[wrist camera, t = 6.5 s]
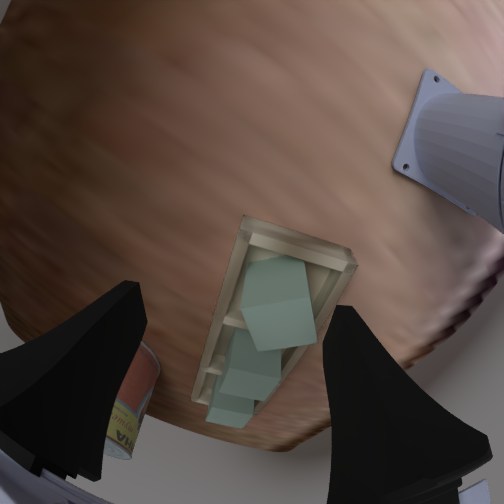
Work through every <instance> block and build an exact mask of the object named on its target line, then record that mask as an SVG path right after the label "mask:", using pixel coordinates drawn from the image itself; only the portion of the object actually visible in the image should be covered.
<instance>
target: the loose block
mask: <svg viewBox="0 0 504 504" xmlns="http://www.w3.org/2000/svg"><path fill="white" fill-rule="evenodd" d="M240 309H241V312H242V314H243V317H244V319H245V322H246V324H247V327H248V329H249V332H250V334H251V337H252V339H253V342H254V344H255V346H256V349H257V351H258V352H259V351H267V350H275V349H282V348H289V347H295V346H302V345H308V344H314V343H318V342H317V335H316V328H315V321H314V314H313V308H312V301H311V295H310V289H309V284H308V279H307V273H306V268H305V263H304V260H302V259H299V258H295V257H292V256H289V255H284V256H279V257H274V258H269V259H264V260H259V261H253V262H248V264H247V270H246V276H245V282H244V288H243V295H242V301H241V307H240Z"/></svg>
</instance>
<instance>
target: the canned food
mask: <svg viewBox="0 0 504 504" xmlns="http://www.w3.org/2000/svg"><path fill="white" fill-rule="evenodd" d="M160 370H161V368H160V363H159V361H158V359H157V357H156V356H155V354H154V353H153V352H152V350H151V349H150V348H149V347H148V346H147V345H146V344H145V343H144V342H142V341H141V344H140V346H139V348H138V350H137V352H136V354H135V357H134V359H133V361H132V363H131V365H130V367H129V369H128V372H127V374H126V376H125V378H124V380H123V382H122V385H121V387H120V389H119V392H118V394H117V397H116V400H115V403H114V407H113V410H112V414H111V418H110V422H109V426H108V430H107V435H106V440H105V446H104V452H103V454H106V455H109V456H112V457H115V458H119V459H124V460H130V459H131V458H132V452H133V449H134V445H135V442H136V439H137V436H138V433H139V430H140V427H141V424H142V421H143V418H144V415H145V412H146V409H147V406H148V403H149V400H150V397H151V394H152V391H153V389H154V386H155V383H156V380H157V377H158V376H159V374H160Z"/></svg>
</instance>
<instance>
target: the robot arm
mask: <svg viewBox="0 0 504 504" xmlns="http://www.w3.org/2000/svg"><path fill="white" fill-rule="evenodd" d="M434 76H435V77H436V79H437V82H435V81H434ZM404 164H407V168H406V169H405V170H403V165H404ZM392 166H393V168H394V169H395V170H397V171H399V172H400V173H402V174H404V175H406V176H408V177H410V178H412V179H414V180H415V181H417V182H419V183H421V184H423V185H424V186H426V187H428V188H429V189H431V190H433V191H435V192H436V193H438V194H440V195H441V196H443V197H444V198H446V199H448V200H449V201H451V202H452V203H454V204H455V205H457V206H459V207H460V208H462V209H463V210H465V211H466V212H468V213H469V214H470V215H472V216H476V215H477V214H478V215H479V216H481V217H482V218H483V219H485V220H486V221H487V222H489V223H490V224H491V225H493V226H494V227H495V228H496V229H498V230H499V231H500V232H501V233H502V234H504V98H503V97H496V96H487V95H476V94H464V93H462V92H461V91H460V90H459V89H458V88H456V87H455V86H454V85H452V84H451V83H450V82H449V81H447V80H446V79H445V78H443V77H442V76H441V75H439V74H438V73H436V72H435V71H434V70H432V69H425V70H424V71H423V74H422V77H421V81H420V84H419V87H418V90H417V94H416V97H415V100H414V103H413V106H412V109H411V112H410V115H409V118H408V121H407V123H406V126H405V129H404V132H403V134H402V137H401V140H400V142H399V145H398V148H397V150H396V153H395V155H394V158H393V160H392ZM466 206H467V207H466ZM146 325H147V317H146V313H145V308H144V304H143V299H142V294H141V289H140V284H139V282H133V281H127V280H125V281H123V282H121V283H120V284H118V285H117V286H115V287H114V288H112V289H111V290H110V291H108V292H107V293H105V294H104V295H103V296H101V297H100V298H98V299H97V300H96V301H94V302H93V303H91V304H90V305H89V306H87V307H86V308H84V309H83V310H81V311H80V312H78V313H77V314H75V315H74V316H72V317H71V318H69V319H68V320H66V321H65V322H63V323H62V324H60V325H59V326H57V327H55V328H54V329H52V330H50V331H49V332H47V333H45V334H43V335H41V336H40V337H38V338H36V339H33V340H31V341H29V342H27V343H25V344H23V345H21V346H18V347H16V348H14V349H11V350H8V351H6V352H3V353H0V504H113V503H111V502H108V501H106V500H104V499H101V498H99V497H97V496H95V495H93V494H91V493H88V492H86V491H84V490H82V489H80V488H78V487H77V486H74V485H73V484H71V483H69V482H67V481H65V479H66V476H67V475H68V476H70V477H72V478H74V479H76V477H77V474H79V475H80V476H83V477H85V478H87V479H89V480H91V481H93V482H95V481H98V480H100V479H101V470H102V459H103V452H104V446H105V440H106V435H107V430H108V426H109V422H110V418H111V414H112V410H113V407H114V403H115V400H116V397H117V394H118V392H119V389H120V387H121V385H122V382H123V380H124V378H125V376H126V374H127V372H128V369H129V367H130V365H131V363H132V361H133V359H134V357H135V354H136V352H137V350H138V348H139V346H140V344H141V341H142V338H143V335H144V332H145V328H146ZM323 368H324V375H325V381H326V388H327V394H328V401H329V408H330V415H331V425H332V454H331V472H330V483H329V492H328V499H327V504H491V503H490V496H489V490H488V484H487V479H483V480H481V481H479V482H477V483H475V484H473V485H471V486H470V487H468V488H466V489H464V490H462V491H460V492H458V487H460V486H461V485H462V479H461V477H463V476H465V475H467V474H468V473H470V472H472V471H474V470H476V469H477V468H479V467H480V466H482V465H483V464H485V463H487V462H488V461H490V460H491V459H492V457H493V455H492V451H491V448H490V444H489V440H488V437H487V435H485V434H483V433H482V432H480V431H478V430H476V429H474V428H473V427H471V426H469V425H467V424H466V423H464V422H463V421H461V420H460V419H458V418H457V417H455V416H454V415H453V414H451V413H450V412H448V411H447V410H446V409H444V408H443V407H442V406H441V405H440V404H438V403H437V402H436V401H435V400H434V399H432V398H431V397H430V396H429V395H428V394H427V393H426V392H424V391H423V390H422V389H421V388H420V387H419V386H418V385H417V384H416V383H415V382H414V381H413V380H412V379H411V378H410V377H409V376H408V375H407V374H406V373H405V371H404V370H403V369H402V368H401V367H400V366H399V365H398V364H397V362H396V361H395V360H394V359H393V358H392V357H391V355H390V354H389V353H388V352H387V351H386V349H385V348H384V347H383V346H382V344H381V343H380V342H379V340H378V339H377V338H376V337H375V335H374V334H373V333H372V331H371V330H370V329H369V327H368V326H367V325H366V323H365V322H364V321H363V319H362V318H361V317H360V315H359V314H358V313H357V312H356V310H355V309H354V308H353V307H352V306H344V305H336V308H335V310H334V313H333V316H332V319H331V322H330V324H329V327H328V330H327V332H326V335H325V338H324V340H323Z"/></svg>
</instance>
